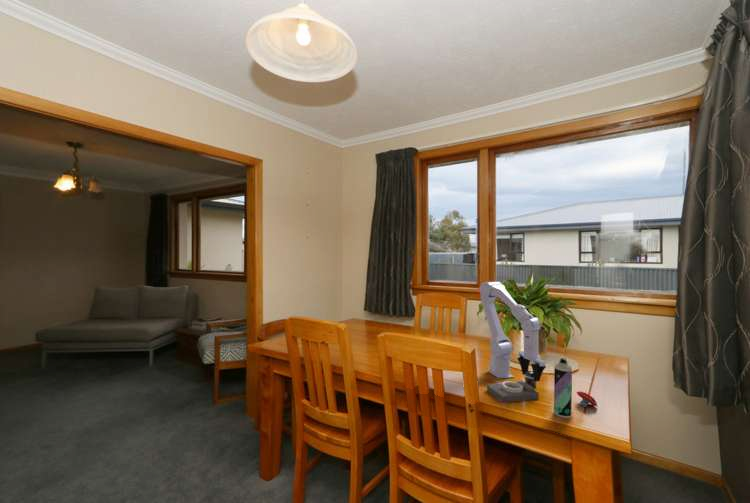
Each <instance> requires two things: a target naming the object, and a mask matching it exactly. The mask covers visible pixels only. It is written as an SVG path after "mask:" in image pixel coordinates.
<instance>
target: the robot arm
mask: <svg viewBox="0 0 750 503" xmlns="http://www.w3.org/2000/svg"><path fill="white" fill-rule="evenodd" d="M478 290H479V291H478V292H479V294H480V304H481V305H482V308H483V313H484V316H485V318H486V320H487V321H486V322H487V325H488V328H489V331H490V334H491V338H490V340H489V345H490V347H489V350H490V353H491V354H490V357H489V369H488V370H487V372H489V374H491V375H492V376H494V377H496V378H497V379H509V378H510V379H511V378H514V375H513V374H511V371H510V370H511V356H512V354H513V353H514V345H513V343H512V342H511V340H510V339H509V338H510V337H508V335H506V334H505V333H504V330H503V328H502V324H501V322H500V321H501V320H500V318H499V315H498V312H497V308H496V305H495V303H494V302H495V300H496V299H497V298H499V299H501V301H502V302H503V303H505V305H507V307H508V308H510V312H511V314H512V315H513V317H515V319H516V320H517V321H518V322H519V323H520V328H521V330H522V333H523V351H522V350H521V351H518V357H516V358H517V361H518V363H519V365H520V369H521V373H522V375H523V376H525V371H529V367H530V366H531V369H532V371H533V375H534V381H536V382H540V381H541V378H542V374H543V372H544V371H545V369H546V362H545V360H543V359H542V358H541V356H540V354H539V336H540V335H539V333H540V332H539V331H540V330H541V329H542V322H541V320H540V319H539V318H538V317H537V316H533V315H532V314H531V313H530V312H529V311H528V310H527V309H526V306H524V305H522V304H518V303H517V302H516V301H515V300H514V298H513V297H512V296H511V295H510V294H509V292H508V290H506V287H505V285H503V284H502V283H501V281H497V280H495V281H484V282H482V283H481V284H480V286H479V288H478ZM531 362H532V364H530V363H531Z"/></svg>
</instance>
